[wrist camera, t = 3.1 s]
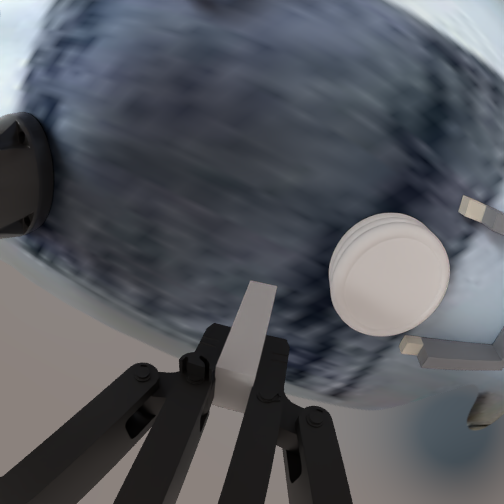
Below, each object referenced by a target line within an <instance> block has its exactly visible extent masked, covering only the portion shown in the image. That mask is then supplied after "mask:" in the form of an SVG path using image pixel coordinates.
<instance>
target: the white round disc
mask: <svg viewBox="0 0 504 504" xmlns="http://www.w3.org/2000/svg"><path fill="white" fill-rule="evenodd" d="M449 277H450V265H449V260H448V256H447V253H446V250H445V248H444V246H443V245H442V243H441V242H440V240H439V239H438V238H437V237H436V236H435V235H434V234H433V233H432V232H431V231H430V230H429V229H428V228H427V227H426V226H425V225H424V224H423V223H421V222H420V221H418V220H417V219H415V218H413V217H411V216H408V215H405V214H401V213H381V214H376V215H373V216H370V217H367V218H365V219H363V220H361V221H360V222H358V223H357V224H355V225H354V226H353V227H352V228H350V229H349V230H348V231H347V232H346V233H345V234H344V236H343V237H342V238H341V240H340V241H339V243H338V244H337V246H336V248H335V250H334V252H333V255H332V257H331V261H330V265H329V282H330V293H331V299H332V303H333V306H334V308H335V310H336V312H337V313H338V315H339V316H340V318H341V319H342V320H343V321H344V322H345V323H346V324H347V325H348V326H350V327H351V328H353V329H354V330H356V331H358V332H361V333H363V334H367V335H372V336H391V335H396V334H400V333H403V332H406V331H408V330H410V329H413V328H414V327H416V326H418V325H419V324H421V323H422V322H423V321H425V320H426V319H427V318H428V317H429V316H430V315H431V314H432V313H433V312H434V311H435V310H436V308H437V307H438V306H439V304H440V302H441V301H442V299H443V297H444V295H445V293H446V290H447V287H448V283H449Z"/></svg>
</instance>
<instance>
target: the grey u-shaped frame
mask: <svg viewBox="0 0 504 504" xmlns="http://www.w3.org/2000/svg"><path fill="white" fill-rule="evenodd" d="M458 212H459V213H461V214H462V215H464V216H465V217H468V218H471V219H473V220H476V221H478V222H481V223H482V224H484V225H485V226H487V227H488V228H489V229H491V230H492V231H495V232H497V233H499V234H502V235H504V213H503V212H501V211H499V210H497V209H495V208H492V207H490V206H488V205H486V204H483V203H481V202H479V201H476V200H474V199H472V198H469V197H467V196H464V195H463V198H462V201H461V204H460V208H459V211H458ZM399 348H400V351H401V354H408V355H417V357H418V360H419V363H420V366H421V368H431V369H450V370H502V369H503V368H504V327H503V329H502V330H501V332H500V334H499V335H498V337H497V338H496V340H495V342H494V343H493V345H490V344H479V343H468V342H458V341H449V340H441V339H432V338H424V337H417V336H409V335H405V336H404V338H403V339H402V341H401V343H400V345H399Z"/></svg>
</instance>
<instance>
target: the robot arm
mask: <svg viewBox="0 0 504 504" xmlns="http://www.w3.org/2000/svg"><path fill="white" fill-rule="evenodd" d="M52 196H53V164H52V157H51V152H50V148H49V144H48V141H47V138H46V135H45V133H44V131H43V129H42V127H41V125H40V124H39V122H38V121H37V120H36V119H35V118H34V117H33V116H32V115H30V114H28V113H25V112H19V113H12V114H7V115H4V116H2V117H0V239H2V238H10V237H18V236H23V235H26V234H28V233H30V232H31V231H33V230H35V229H37V228H38V227H40V226H41V225H42V224H43V222H44V221H45V219H46V218H47V215H48V213H49V210H50V207H51V202H52ZM276 289H277V286H274V285H269V284H265V283H260V282H256V281H251V280H250V283H249V285H248V288H247V290H246V293H245V295H244V298H243V300H242V303H241V305H240V308H239V310H238V313H237V315H236V318H235V320H234V323H233V325H232V327H228V326H224V325H220V324H216V323H214V324H212V325H211V326H210V327H208V328H207V329H206V331H205V333H204V335H203V337H202V339H201V341H200V343H199V345H198V347H197V349H196V351H195V352H191V353H187V354H185V355H183V356H182V357H181V358H180V359H179V368H180V371H179V372H175V373H166V372H158V370H157V369H156V368H155V367H154V366H153V365H151V364H148V363H137V364H134V365H133V366H131V367H130V368H129V369H127V370H126V371H125V372H124V373H123V374H122V375H120V377H118V378H117V379H116V380H115V381H114V382H112V383H111V384H110V385H109V386H108V387H107V388H105V389H104V390H103V391H102V392H101V393H100V394H99V395H97V396H96V397H95V398H94V399H93V400H92V401H90V402H89V403H88V404H87V405H86V406H85V407H83V408H82V409H81V410H80V411H79V412H78V413H77V414H75V415H74V416H73V417H72V418H71V419H70V420H68V421H67V422H66V423H65V424H64V425H63V426H62V427H60V428H59V429H58V430H57V431H56V432H54V433H53V434H52V435H51V436H50V437H49V438H47V439H46V440H45V441H44V442H43V443H42V444H40V445H39V446H38V447H37V448H36V449H34V450H33V451H32V452H31V453H30V454H29V455H28V456H26V457H25V458H24V459H23V460H22V461H20V462H19V463H18V464H17V465H16V466H14V467H13V468H12V469H11V470H10V471H9V472H7V473H6V474H5V475H4V476H2V477H0V504H77V503H78V502H79V501H80V500H81V499H82V498H83V497H84V496H85V495H86V494H87V493H88V492H89V491H90V490H91V489H92V488H93V487H94V486H95V485H96V484H97V483H98V482H99V481H100V480H101V479H102V478H103V477H104V476H105V475H106V474H107V473H108V472H109V471H110V470H111V469H112V468H113V467H114V466H115V465H116V464H117V463H118V462H119V461H120V459H122V458H123V457H124V456H125V455H126V453H127V452H128V451H129V450H130V449H131V448H132V447H133V446H134V445H135V444H136V443H137V442H138V441H139V440H140V439H141V438H142V437H143V436H144V434H145V433H146V432H147V431H148V430H149V429H150V428H151V427H152V428H151V430H150V432H149V434H148V436H147V437H146V440H145V442H144V443H143V446H142V447H141V449H140V451H139V453H138V455H137V457H136V459H135V461H134V463H133V465H132V468H131V469H130V471H129V473H128V475H127V477H126V479H125V481H124V483H123V485H122V487H121V489H120V491H119V493H118V495H117V497H116V499H115V501H114V503H113V504H175V503H176V500H177V498H178V495H179V493H180V490H181V488H182V485H183V483H184V480H185V477H186V475H187V472H188V469H189V467H190V464H191V461H192V459H193V456H194V454H195V451H196V448H197V446H198V443H199V440H200V438H201V435H202V432H203V430H204V427H205V425H206V422H207V419H208V416H209V410H210V407H211V404H212V405H215V406H218V407H222V408H226V409H229V410H233V411H238V412H241V413H244V417H243V421H242V424H241V428H240V431H239V435H238V438H237V442H236V445H235V449H234V452H233V456H232V459H231V462H230V466H229V469H228V472H227V476H226V479H225V483H224V485H223V489H222V492H221V495H220V498H219V501H218V504H264V502H265V497H266V493H267V488H268V484H269V478H270V474H271V469H272V463H273V459H274V453H275V447H276V445H277V446H279V447H281V448H283V457H284V464H285V472H286V481H287V489H288V497H289V504H353V503H352V498H351V494H350V489H349V485H348V482H347V477H346V473H345V469H344V464H343V460H342V457H341V452H340V448H339V444H338V440H337V436H336V432H335V429H334V425H333V421H332V418H331V416H330V414H329V412H327V411H326V410H325V409H323V408H321V407H318V406H309V407H306V408H302V407H300V406H297V405H295V404H293V403H292V402H291V401H290V400H289V399H288V398H287V397H286V395H285V393H284V383H285V376H286V369H287V362H288V355H289V345H288V343H287V340H286V339H282V338H277V337H273V336H268V335H266V332H267V328H268V324H269V320H270V315H271V311H272V307H273V302H274V298H275V294H276ZM212 401H213V402H212Z"/></svg>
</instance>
